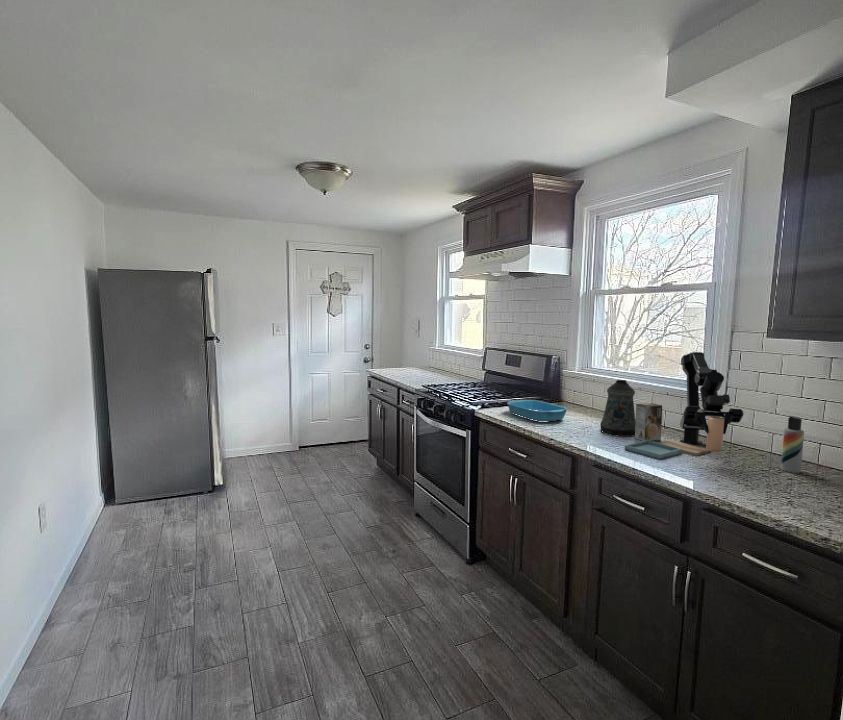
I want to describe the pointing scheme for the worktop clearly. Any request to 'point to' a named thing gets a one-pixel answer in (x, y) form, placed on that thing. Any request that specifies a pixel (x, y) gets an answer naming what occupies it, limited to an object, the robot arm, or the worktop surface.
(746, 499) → the worktop surface
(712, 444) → the tan glossy round part
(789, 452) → the lotion bottle
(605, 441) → the worktop surface
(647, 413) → the coffee box
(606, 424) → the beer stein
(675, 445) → the tan board
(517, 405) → the casserole dish
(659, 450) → the tray
